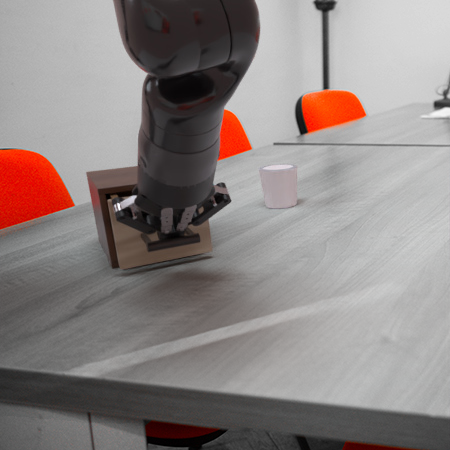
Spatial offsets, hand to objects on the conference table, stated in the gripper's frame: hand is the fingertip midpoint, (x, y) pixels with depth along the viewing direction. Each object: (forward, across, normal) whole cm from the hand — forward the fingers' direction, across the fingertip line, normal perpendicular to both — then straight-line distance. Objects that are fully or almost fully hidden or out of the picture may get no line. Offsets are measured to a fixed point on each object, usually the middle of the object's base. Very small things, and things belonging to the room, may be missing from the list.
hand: (169, 240), depth 71 cm
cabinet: (+13, 0, -7) cm, 15 cm away
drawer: (+7, 0, -2) cm, 7 cm away
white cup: (+20, -24, -14) cm, 35 cm away
